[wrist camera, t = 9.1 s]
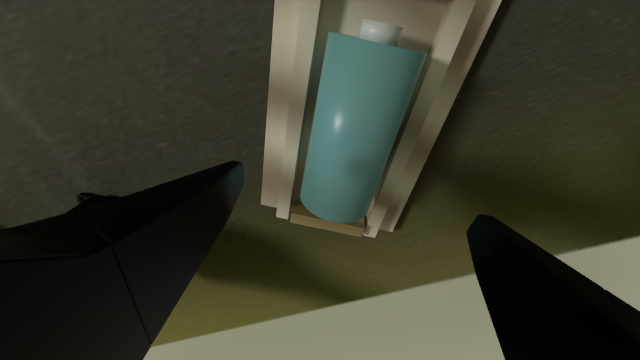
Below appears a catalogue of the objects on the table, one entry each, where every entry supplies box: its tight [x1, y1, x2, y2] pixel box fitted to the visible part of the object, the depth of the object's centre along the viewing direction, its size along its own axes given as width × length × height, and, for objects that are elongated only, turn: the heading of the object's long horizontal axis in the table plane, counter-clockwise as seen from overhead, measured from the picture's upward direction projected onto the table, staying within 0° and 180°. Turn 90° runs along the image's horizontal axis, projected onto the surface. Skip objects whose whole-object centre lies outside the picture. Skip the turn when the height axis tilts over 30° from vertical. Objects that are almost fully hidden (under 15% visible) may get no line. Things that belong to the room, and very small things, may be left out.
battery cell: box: [300, 19, 428, 223], centre depth 15 cm, size 11×5×5 cm, turn 169°
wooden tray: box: [261, 0, 502, 238], centre depth 17 cm, size 18×12×3 cm, turn 169°
